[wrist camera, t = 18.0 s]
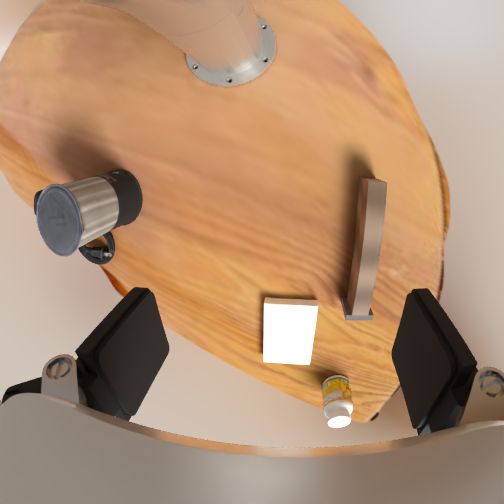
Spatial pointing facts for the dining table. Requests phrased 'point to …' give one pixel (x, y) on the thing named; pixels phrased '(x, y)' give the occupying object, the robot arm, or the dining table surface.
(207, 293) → the dining table surface
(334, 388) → the supplement bottle
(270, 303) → the tile
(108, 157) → the dining table surface
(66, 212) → the milk frother
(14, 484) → the robot arm
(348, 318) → the bar
